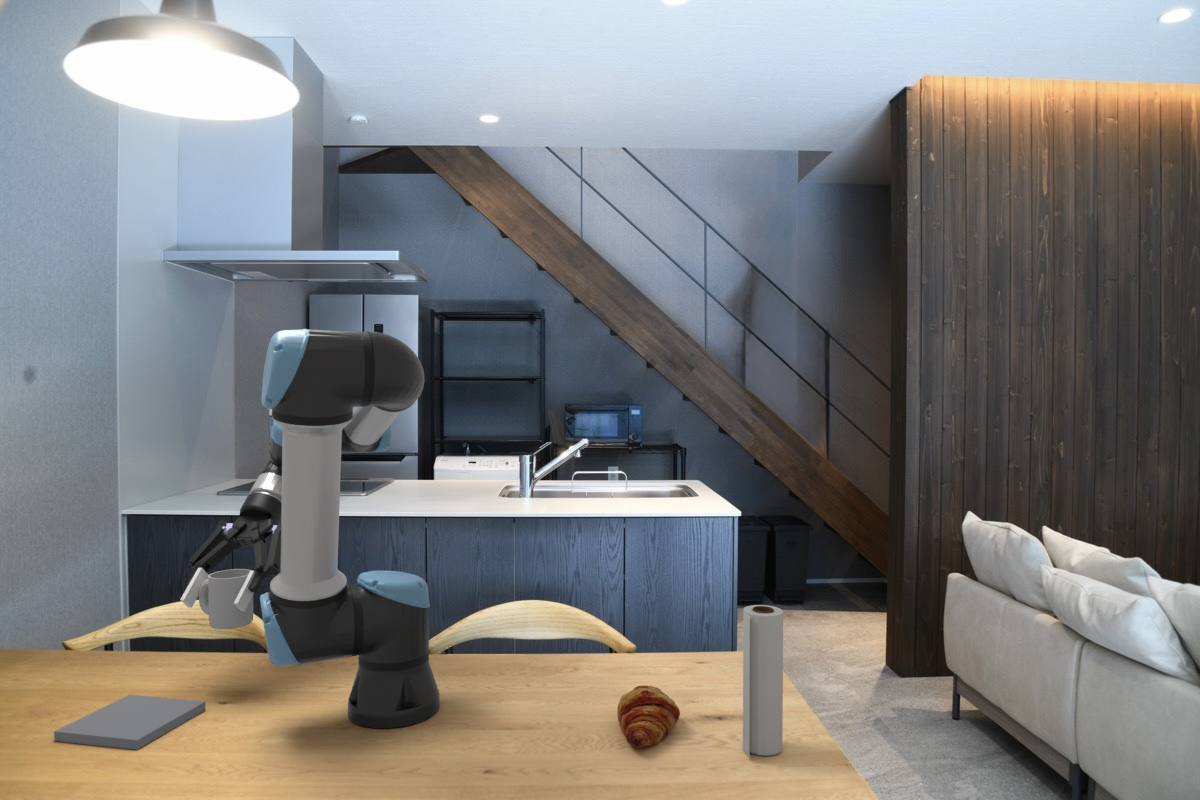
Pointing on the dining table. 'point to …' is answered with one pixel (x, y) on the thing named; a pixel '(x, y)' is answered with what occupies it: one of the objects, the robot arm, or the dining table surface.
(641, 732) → the croissant
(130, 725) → the slate tile
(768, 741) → the paper towel roll
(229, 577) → the cup
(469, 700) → the dining table surface
